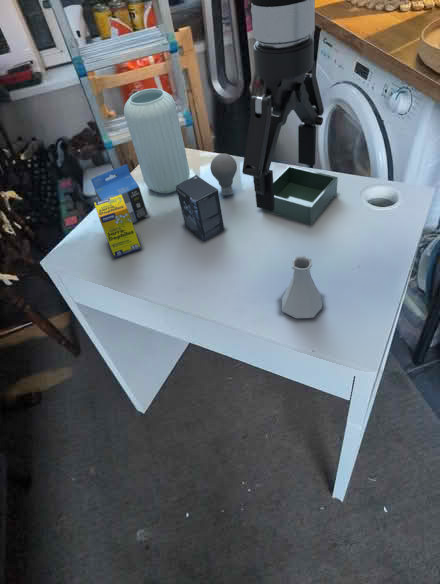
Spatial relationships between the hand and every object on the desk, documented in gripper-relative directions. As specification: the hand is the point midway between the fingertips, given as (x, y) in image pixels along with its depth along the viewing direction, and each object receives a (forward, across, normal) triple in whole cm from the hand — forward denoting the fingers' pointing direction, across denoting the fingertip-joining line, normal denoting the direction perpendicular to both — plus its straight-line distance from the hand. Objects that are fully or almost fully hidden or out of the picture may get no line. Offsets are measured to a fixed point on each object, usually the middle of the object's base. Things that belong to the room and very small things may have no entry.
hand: (287, 184), depth 69 cm
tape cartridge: (+19, +2, -41) cm, 45 cm away
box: (+19, -4, -23) cm, 30 cm away
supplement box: (+19, +9, -35) cm, 41 cm away
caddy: (+19, -20, -8) cm, 29 cm away
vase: (+19, -14, -42) cm, 48 cm away
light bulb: (+19, -16, -26) cm, 36 cm away
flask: (+19, +7, +6) cm, 21 cm away
